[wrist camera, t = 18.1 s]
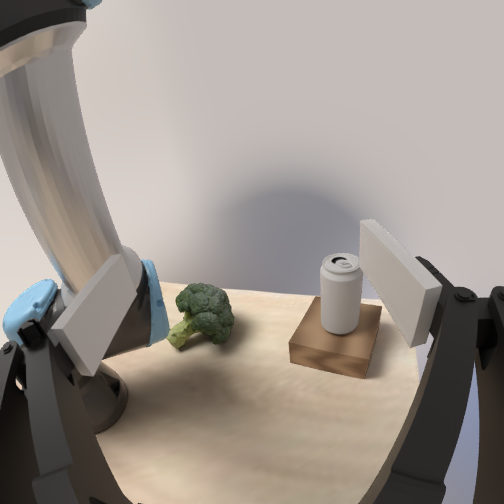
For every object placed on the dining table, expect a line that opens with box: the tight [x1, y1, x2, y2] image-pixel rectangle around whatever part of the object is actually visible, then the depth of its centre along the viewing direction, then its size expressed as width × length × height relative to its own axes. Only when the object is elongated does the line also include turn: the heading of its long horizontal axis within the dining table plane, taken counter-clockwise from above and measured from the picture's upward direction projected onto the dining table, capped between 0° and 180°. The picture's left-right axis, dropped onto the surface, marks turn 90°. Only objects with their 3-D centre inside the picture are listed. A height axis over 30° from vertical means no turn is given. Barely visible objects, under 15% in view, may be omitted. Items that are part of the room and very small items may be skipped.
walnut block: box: [289, 296, 382, 379], centre depth 45 cm, size 13×13×5 cm
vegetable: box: [166, 283, 234, 349], centre depth 51 cm, size 12×13×15 cm
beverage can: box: [320, 253, 363, 334], centre depth 41 cm, size 6×6×12 cm
